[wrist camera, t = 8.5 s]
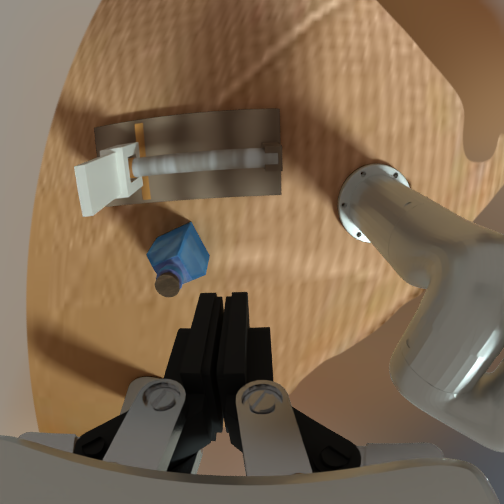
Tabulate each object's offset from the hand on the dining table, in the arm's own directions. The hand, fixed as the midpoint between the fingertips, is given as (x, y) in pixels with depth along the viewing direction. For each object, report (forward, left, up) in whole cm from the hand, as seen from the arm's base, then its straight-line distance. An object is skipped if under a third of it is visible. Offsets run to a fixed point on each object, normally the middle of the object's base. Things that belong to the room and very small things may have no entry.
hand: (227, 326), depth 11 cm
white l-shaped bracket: (+14, -2, -32) cm, 35 cm away
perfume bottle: (+9, +12, -36) cm, 39 cm away
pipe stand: (+7, -2, -36) cm, 36 cm away
